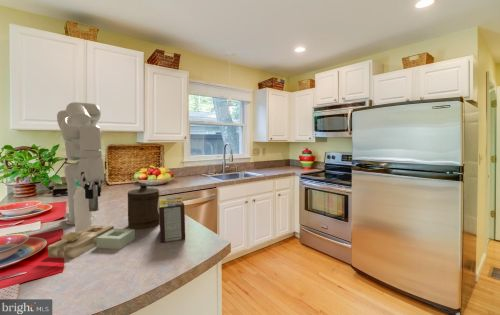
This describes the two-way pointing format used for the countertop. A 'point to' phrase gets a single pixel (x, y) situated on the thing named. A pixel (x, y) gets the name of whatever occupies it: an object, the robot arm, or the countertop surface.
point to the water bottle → (81, 210)
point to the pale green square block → (115, 238)
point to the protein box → (171, 219)
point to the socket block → (78, 243)
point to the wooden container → (143, 208)
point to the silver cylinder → (94, 199)
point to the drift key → (71, 237)
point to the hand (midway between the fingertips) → (93, 197)
